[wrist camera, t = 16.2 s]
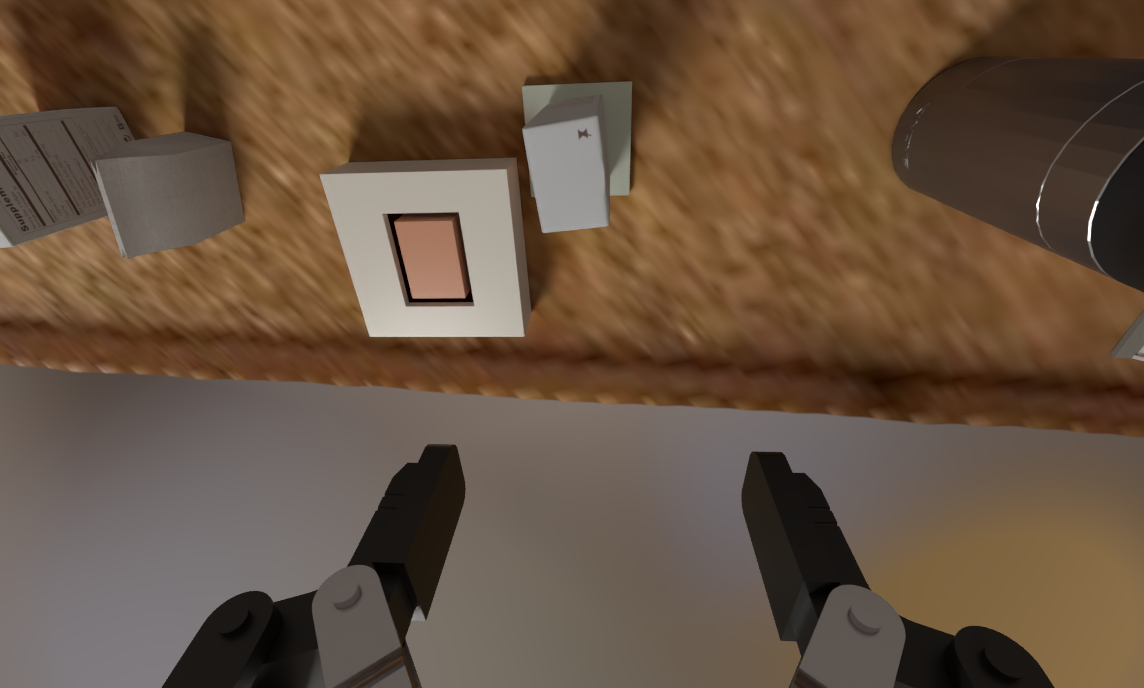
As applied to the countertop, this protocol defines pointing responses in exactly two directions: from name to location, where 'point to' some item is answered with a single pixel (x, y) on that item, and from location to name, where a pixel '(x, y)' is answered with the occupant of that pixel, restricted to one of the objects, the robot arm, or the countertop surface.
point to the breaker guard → (488, 237)
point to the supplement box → (53, 169)
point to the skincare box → (570, 164)
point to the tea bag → (168, 191)
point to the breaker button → (434, 254)
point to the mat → (615, 115)
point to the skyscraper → (1132, 341)
